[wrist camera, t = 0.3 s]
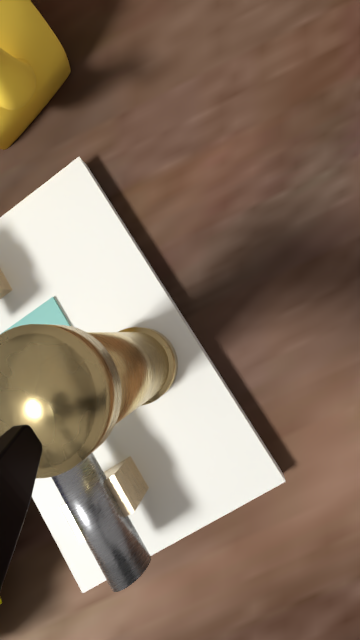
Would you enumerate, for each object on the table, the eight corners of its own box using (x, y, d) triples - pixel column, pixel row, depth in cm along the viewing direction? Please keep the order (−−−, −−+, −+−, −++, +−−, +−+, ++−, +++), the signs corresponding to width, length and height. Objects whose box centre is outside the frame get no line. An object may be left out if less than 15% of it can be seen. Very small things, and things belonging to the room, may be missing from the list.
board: (283, 473, 22) (285, 482, 21) (90, 580, 24) (81, 595, 23) (86, 164, 25) (77, 155, 24) (-68, 283, 27) (-84, 281, 26)
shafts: (171, 526, 22) (154, 572, 18) (104, 563, 23) (73, 616, 19) (1, 232, 25) (-48, 212, 21) (-53, 273, 26) (-111, 262, 22)
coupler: (192, 376, 22) (134, 429, 10) (130, 415, 23) (11, 505, 11) (152, 313, 23) (55, 294, 11) (94, 352, 23) (-57, 374, 12)
